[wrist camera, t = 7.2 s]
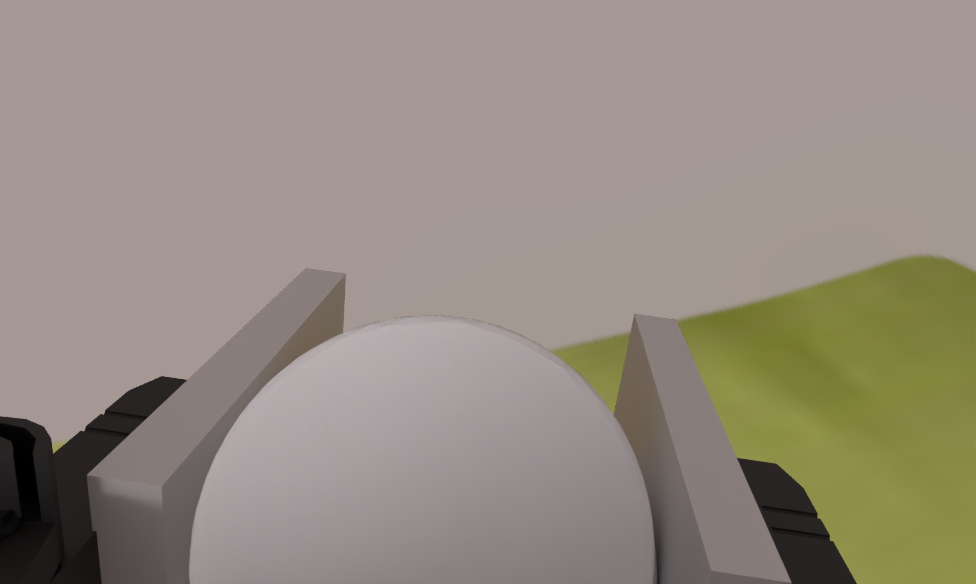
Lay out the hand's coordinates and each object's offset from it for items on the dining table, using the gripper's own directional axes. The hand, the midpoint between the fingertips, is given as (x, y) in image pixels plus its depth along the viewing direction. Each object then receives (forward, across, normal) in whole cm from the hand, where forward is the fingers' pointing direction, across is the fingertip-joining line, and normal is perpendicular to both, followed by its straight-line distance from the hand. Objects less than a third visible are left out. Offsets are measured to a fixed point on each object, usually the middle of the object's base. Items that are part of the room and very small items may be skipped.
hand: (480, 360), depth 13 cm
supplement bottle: (0, 0, -5) cm, 5 cm away
